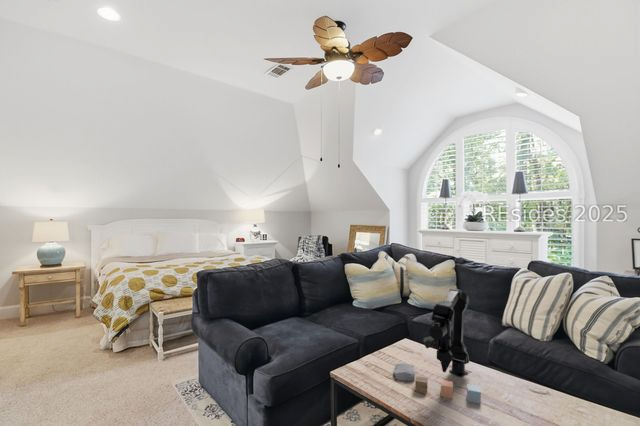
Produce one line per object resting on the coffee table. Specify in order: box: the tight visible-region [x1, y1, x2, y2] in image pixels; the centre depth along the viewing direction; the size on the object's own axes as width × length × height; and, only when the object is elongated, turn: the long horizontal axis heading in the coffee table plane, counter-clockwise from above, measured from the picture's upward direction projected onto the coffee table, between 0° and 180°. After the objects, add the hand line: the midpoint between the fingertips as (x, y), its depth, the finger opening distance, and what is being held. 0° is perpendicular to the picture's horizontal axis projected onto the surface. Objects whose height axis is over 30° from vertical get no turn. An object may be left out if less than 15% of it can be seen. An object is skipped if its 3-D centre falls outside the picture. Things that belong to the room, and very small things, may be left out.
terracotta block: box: [440, 379, 454, 399], centre depth 146 cm, size 5×5×5 cm
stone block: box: [393, 362, 416, 382], centre depth 163 cm, size 12×5×10 cm
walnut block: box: [414, 374, 429, 394], centre depth 150 cm, size 5×5×5 cm
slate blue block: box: [466, 383, 482, 405], centre depth 142 cm, size 5×5×5 cm
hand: (443, 366), depth 146 cm, fingers open, 9 cm apart
